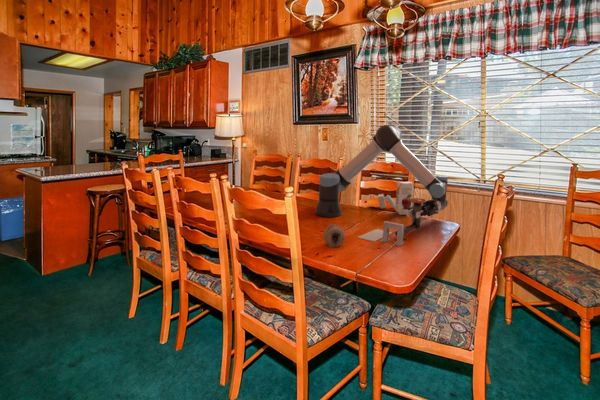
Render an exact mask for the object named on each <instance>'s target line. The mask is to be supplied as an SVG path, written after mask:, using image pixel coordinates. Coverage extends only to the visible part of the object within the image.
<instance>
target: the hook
mask: <svg viewBox="0 0 600 400" xmlns="http://www.w3.org/2000/svg"><path fill="white" fill-rule="evenodd" d="M425 201H426V199H425V198H420V197H419V198H418V197H413V198H411V199H410V202H412V206H413V215H411V216H412V217H411V224H409V225H406V226H404V233H403V234H405V233H407V232H410V231H411V230H414V229H420V228H421V220H422V219H421V218H422V216H421V217H419V218H416V212H419V211H421V208H422V204H423V203H425ZM394 235H395V236H396V237H397V230H395V232H394Z"/></svg>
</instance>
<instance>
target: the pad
mask: <svg viewBox="0 0 600 400" xmlns="http://www.w3.org/2000/svg"><path fill="white" fill-rule="evenodd" d="M392 234H394V233H393V232H391V231H389V236H390V235H392ZM357 239H361V240H365V241H369V242H372V243H375V242H377V241H381V240H382V239H383V229H378V228H376V229H373V230H371V231H369V232H368V231H367V232H366V233H364V234H361V235H359V236H357Z"/></svg>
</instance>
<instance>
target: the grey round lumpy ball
mask: <svg viewBox="0 0 600 400" xmlns="http://www.w3.org/2000/svg"><path fill="white" fill-rule="evenodd" d="M323 235H324V237H323V238H324V242H325V244H326V246H328V247H329V248H339V247H340V246H342V245H343V243H344V242H345V240H346V236H345V231H344V230H343V228H341V227H340V225H339V224H334V223H333V224H330V225H328V226H327V227H326V229H325V230H324V232H323Z"/></svg>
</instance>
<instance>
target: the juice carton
mask: <svg viewBox="0 0 600 400" xmlns="http://www.w3.org/2000/svg"><path fill="white" fill-rule="evenodd" d="M395 194H396V195H395V196H396V198H395V204H396V208H395V212H396V214H398V215H400V216H401V215H402V216H404V215H406V216H407V211H408V208H409V207H411V206H413V203H412V202H410V199H411V198H414V183H413V182H412V181H398V182H397V185H396V193H395Z"/></svg>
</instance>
